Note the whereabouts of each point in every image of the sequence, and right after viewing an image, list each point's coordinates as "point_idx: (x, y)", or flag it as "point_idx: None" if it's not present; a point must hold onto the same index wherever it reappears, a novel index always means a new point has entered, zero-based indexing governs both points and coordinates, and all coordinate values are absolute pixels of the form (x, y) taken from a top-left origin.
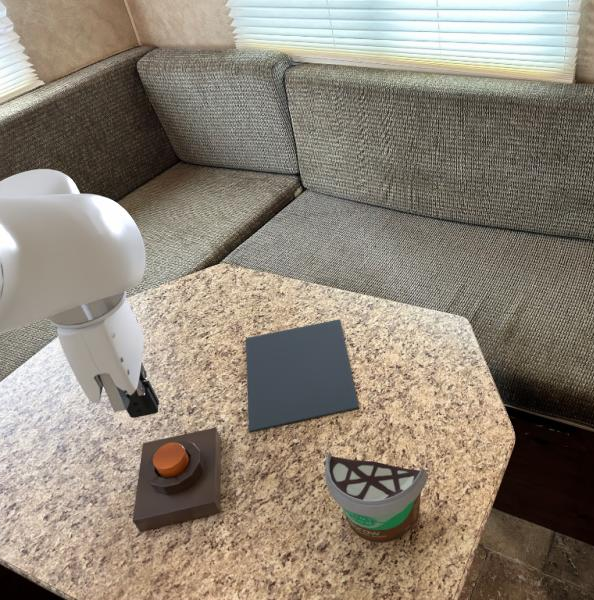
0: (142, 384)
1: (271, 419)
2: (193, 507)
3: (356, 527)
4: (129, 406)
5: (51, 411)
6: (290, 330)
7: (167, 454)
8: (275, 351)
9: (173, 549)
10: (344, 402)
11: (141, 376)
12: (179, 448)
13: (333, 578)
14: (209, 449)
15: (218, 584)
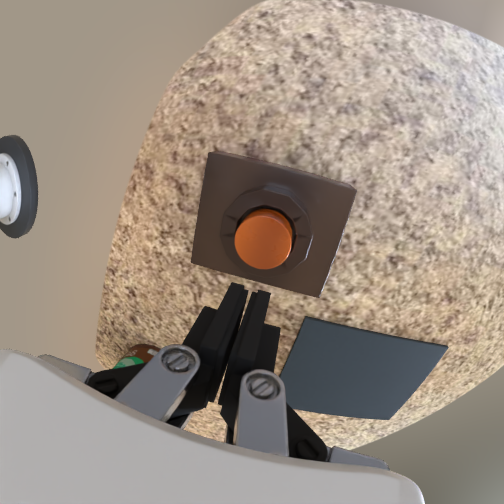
0: (187, 422)
1: (306, 343)
2: (195, 235)
3: (127, 354)
4: (190, 331)
5: (490, 87)
6: (417, 386)
7: (265, 241)
8: (403, 370)
9: (175, 189)
10: None
11: (225, 432)
12: (267, 263)
13: (109, 313)
14: (282, 280)
15: (123, 228)
